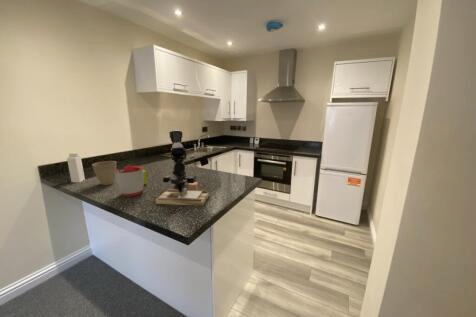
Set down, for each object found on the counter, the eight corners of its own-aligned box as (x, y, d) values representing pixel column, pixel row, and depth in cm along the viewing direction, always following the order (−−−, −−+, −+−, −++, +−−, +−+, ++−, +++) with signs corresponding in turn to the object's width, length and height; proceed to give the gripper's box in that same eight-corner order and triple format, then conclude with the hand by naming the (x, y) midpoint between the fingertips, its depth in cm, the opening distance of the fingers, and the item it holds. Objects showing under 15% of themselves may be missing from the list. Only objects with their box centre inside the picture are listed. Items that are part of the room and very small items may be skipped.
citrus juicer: (130, 187, 138) (127, 160, 134) (150, 190, 133) (147, 162, 129) (110, 196, 123) (106, 166, 119) (132, 199, 119) (128, 168, 114)
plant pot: (112, 179, 157) (109, 160, 153) (123, 182, 150) (120, 162, 146) (91, 185, 144) (87, 164, 140) (102, 188, 137) (98, 166, 133)
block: (191, 190, 134) (190, 181, 133) (198, 190, 134) (197, 182, 132) (188, 192, 129) (188, 184, 128) (196, 193, 129) (195, 184, 127)
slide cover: (185, 192, 124) (184, 186, 123) (202, 192, 123) (201, 187, 122) (178, 199, 113) (178, 193, 112) (196, 200, 112) (196, 194, 111)
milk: (77, 180, 155) (71, 153, 150) (85, 179, 155) (80, 152, 151) (71, 182, 149) (65, 154, 144) (79, 182, 149) (74, 154, 145)
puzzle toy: (142, 180, 153) (141, 168, 151) (147, 183, 146) (145, 171, 144) (128, 183, 147) (126, 171, 144) (132, 187, 140) (131, 173, 137)
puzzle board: (167, 194, 127) (166, 189, 126) (208, 195, 124) (208, 190, 124) (156, 203, 113) (155, 198, 113) (202, 205, 111) (202, 200, 110)
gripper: (157, 171, 108) (159, 197, 111) (189, 172, 106) (191, 198, 109) (166, 166, 118) (168, 190, 122) (196, 166, 117) (197, 191, 120)
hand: (180, 192), depth 118 cm, fingers closed
